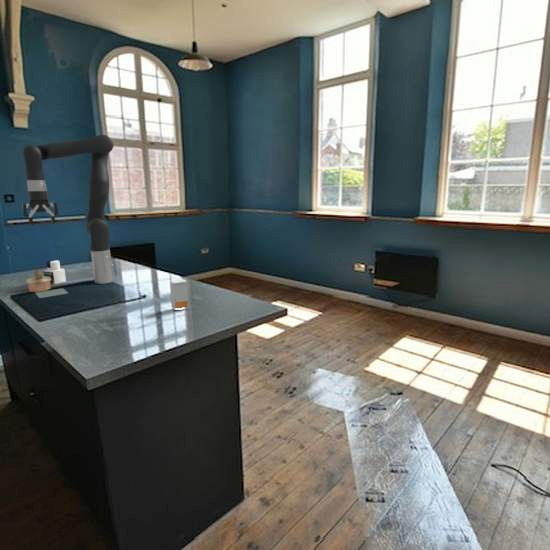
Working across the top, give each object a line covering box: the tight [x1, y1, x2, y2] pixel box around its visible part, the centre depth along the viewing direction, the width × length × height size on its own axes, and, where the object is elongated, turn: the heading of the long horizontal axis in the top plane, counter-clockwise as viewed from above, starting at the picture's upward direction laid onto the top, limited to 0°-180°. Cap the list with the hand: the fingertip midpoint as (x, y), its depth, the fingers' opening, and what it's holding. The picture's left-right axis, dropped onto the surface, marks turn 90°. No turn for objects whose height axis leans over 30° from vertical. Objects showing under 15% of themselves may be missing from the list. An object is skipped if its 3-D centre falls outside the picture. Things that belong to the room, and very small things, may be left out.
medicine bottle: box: [43, 259, 67, 285], centre depth 201 cm, size 7×7×12 cm
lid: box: [25, 269, 51, 285], centre depth 186 cm, size 10×10×6 cm
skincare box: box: [169, 278, 189, 309], centre depth 155 cm, size 6×4×12 cm
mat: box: [35, 287, 69, 299], centre depth 181 cm, size 12×12×1 cm
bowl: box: [27, 281, 52, 293], centre depth 188 cm, size 9×9×4 cm
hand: (42, 224), depth 182 cm, fingers open, 8 cm apart
